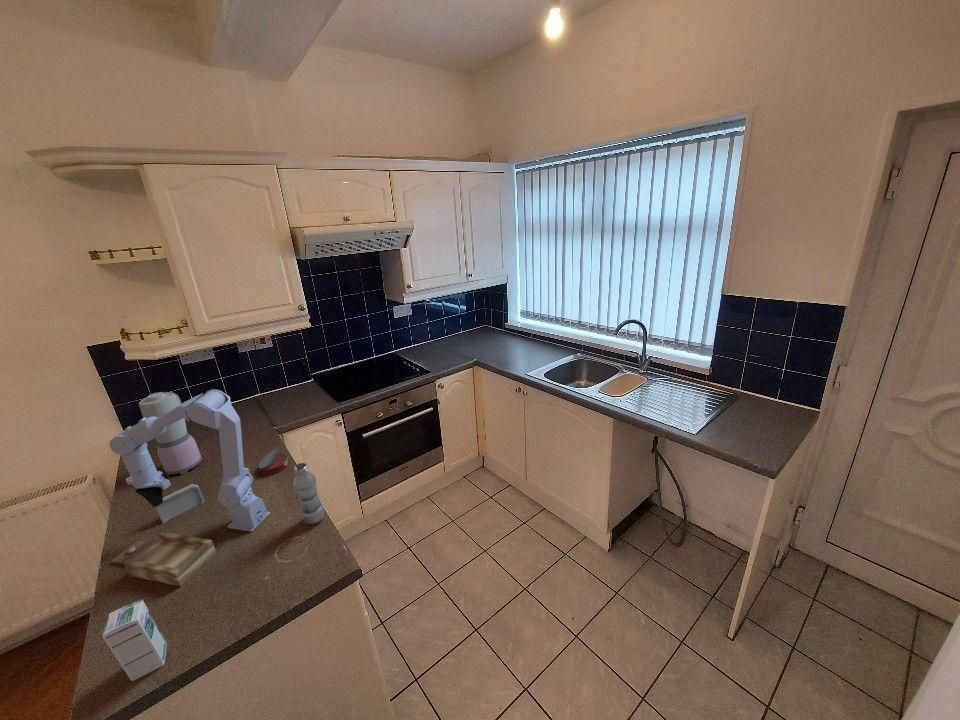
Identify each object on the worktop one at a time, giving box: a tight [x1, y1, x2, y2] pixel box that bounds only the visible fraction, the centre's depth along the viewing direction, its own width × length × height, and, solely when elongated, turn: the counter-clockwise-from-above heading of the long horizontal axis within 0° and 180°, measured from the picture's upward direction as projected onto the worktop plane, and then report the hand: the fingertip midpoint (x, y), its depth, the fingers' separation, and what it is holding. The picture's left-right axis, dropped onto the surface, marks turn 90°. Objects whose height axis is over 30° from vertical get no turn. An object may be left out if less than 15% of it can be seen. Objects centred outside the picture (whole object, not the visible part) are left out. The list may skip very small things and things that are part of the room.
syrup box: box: [102, 599, 168, 682], centre depth 81 cm, size 6×6×14 cm
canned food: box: [258, 445, 289, 477], centre depth 148 cm, size 11×10×10 cm
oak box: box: [123, 531, 218, 587], centre depth 108 cm, size 18×11×5 cm, turn 76°
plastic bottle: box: [292, 462, 325, 525], centre depth 118 cm, size 6×7×20 cm
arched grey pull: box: [154, 483, 206, 524], centre depth 128 cm, size 2×12×8 cm, turn 140°
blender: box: [138, 391, 203, 477], centre depth 150 cm, size 16×12×32 cm
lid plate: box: [111, 540, 158, 566], centre depth 113 cm, size 10×7×2 cm
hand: (158, 504), depth 118 cm, fingers closed
